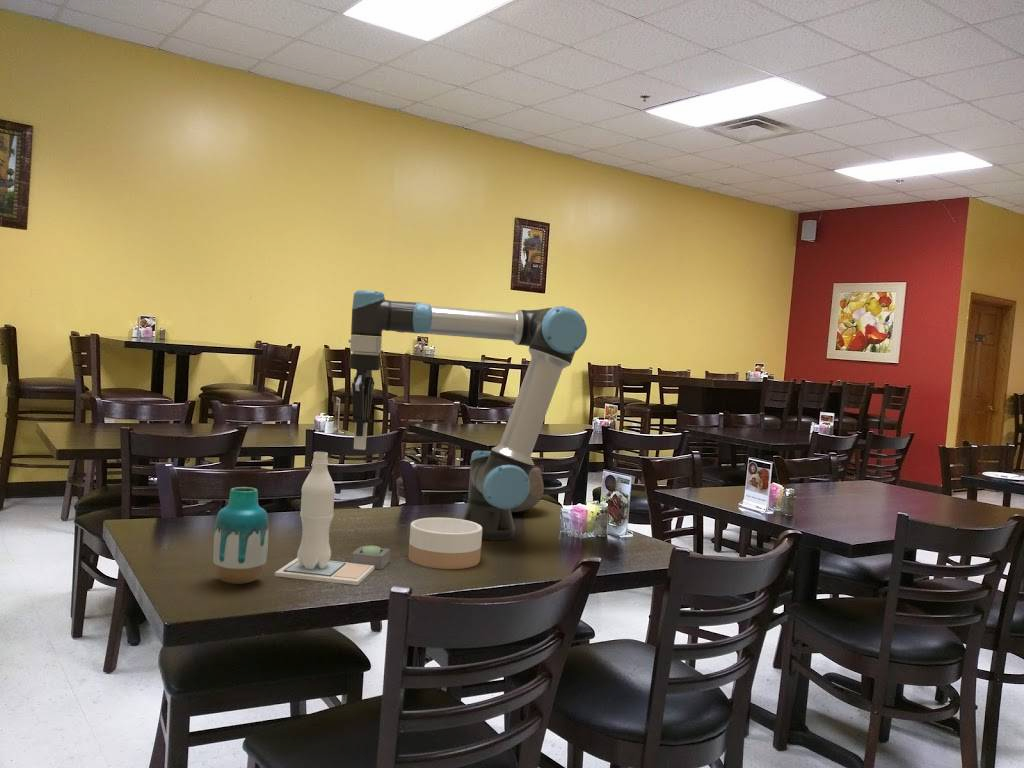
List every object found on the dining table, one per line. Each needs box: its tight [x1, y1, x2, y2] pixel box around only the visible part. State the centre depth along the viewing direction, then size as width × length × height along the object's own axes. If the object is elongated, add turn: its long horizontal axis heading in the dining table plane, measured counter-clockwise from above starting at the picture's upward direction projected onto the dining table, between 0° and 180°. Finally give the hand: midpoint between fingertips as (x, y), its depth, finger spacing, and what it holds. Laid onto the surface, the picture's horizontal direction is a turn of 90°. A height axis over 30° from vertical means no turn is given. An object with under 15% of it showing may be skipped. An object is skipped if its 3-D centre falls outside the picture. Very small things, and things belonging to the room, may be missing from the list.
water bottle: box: [296, 451, 336, 569], centre depth 181 cm, size 7×7×25 cm
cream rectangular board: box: [274, 557, 376, 586], centre depth 181 cm, size 18×13×1 cm
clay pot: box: [510, 465, 545, 513], centre depth 261 cm, size 21×21×15 cm
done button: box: [362, 544, 381, 555], centre depth 190 cm, size 4×4×4 cm
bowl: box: [408, 517, 482, 570], centre depth 200 cm, size 17×17×8 cm
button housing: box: [350, 545, 391, 571], centre depth 190 cm, size 7×7×3 cm
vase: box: [212, 486, 270, 585], centre depth 170 cm, size 11×11×19 cm
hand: (359, 448), depth 206 cm, fingers closed
